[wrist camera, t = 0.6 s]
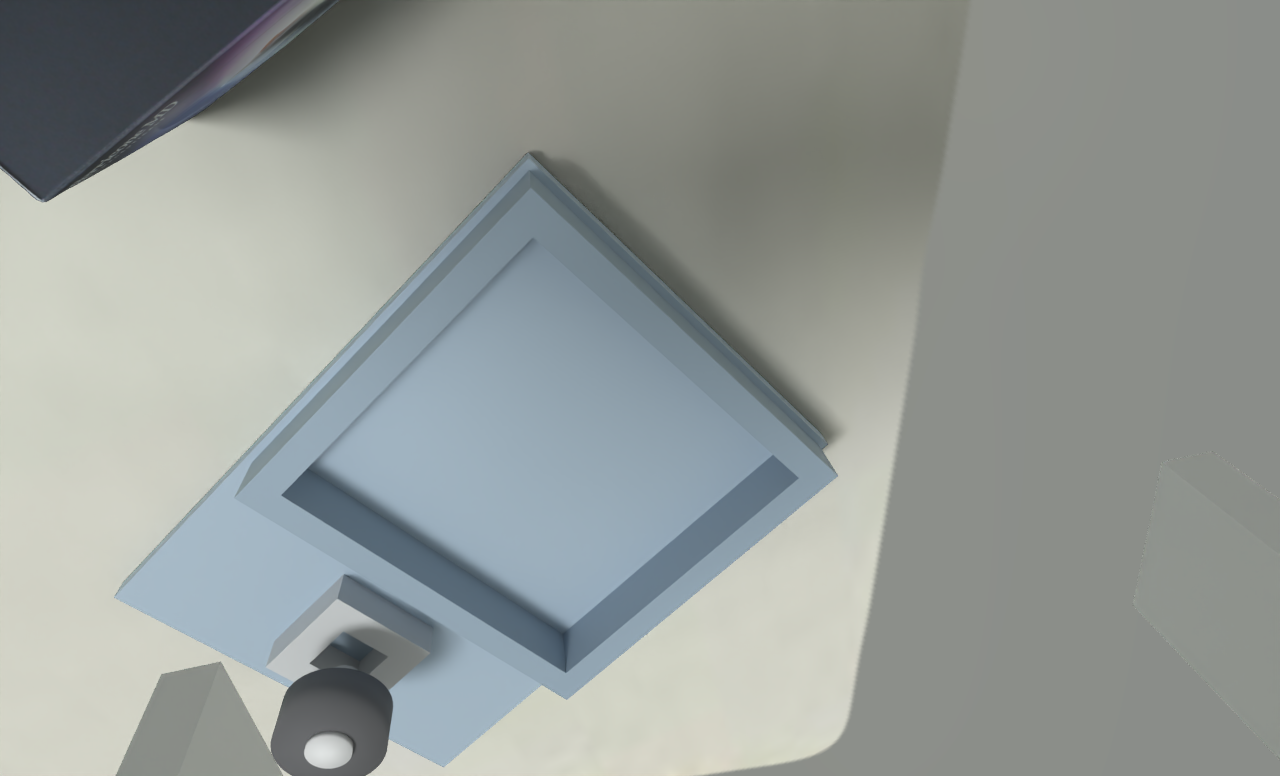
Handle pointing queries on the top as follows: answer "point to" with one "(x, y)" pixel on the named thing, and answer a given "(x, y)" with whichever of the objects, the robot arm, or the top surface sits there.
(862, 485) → the top surface
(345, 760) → the dark grey knob
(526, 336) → the chassis
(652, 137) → the top surface
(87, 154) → the small box
